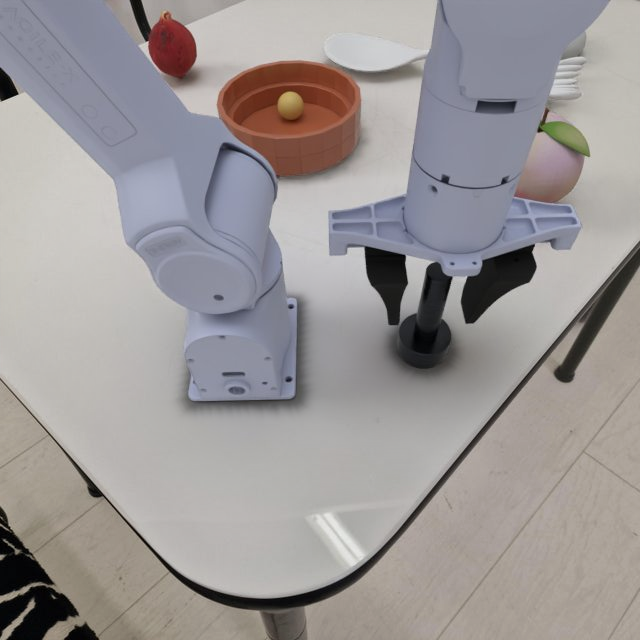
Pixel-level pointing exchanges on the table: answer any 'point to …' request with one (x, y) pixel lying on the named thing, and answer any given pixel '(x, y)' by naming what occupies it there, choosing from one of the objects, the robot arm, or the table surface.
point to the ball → (290, 105)
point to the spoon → (390, 55)
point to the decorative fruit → (553, 160)
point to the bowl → (302, 133)
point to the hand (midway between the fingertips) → (429, 313)
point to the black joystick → (427, 323)
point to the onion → (172, 46)
